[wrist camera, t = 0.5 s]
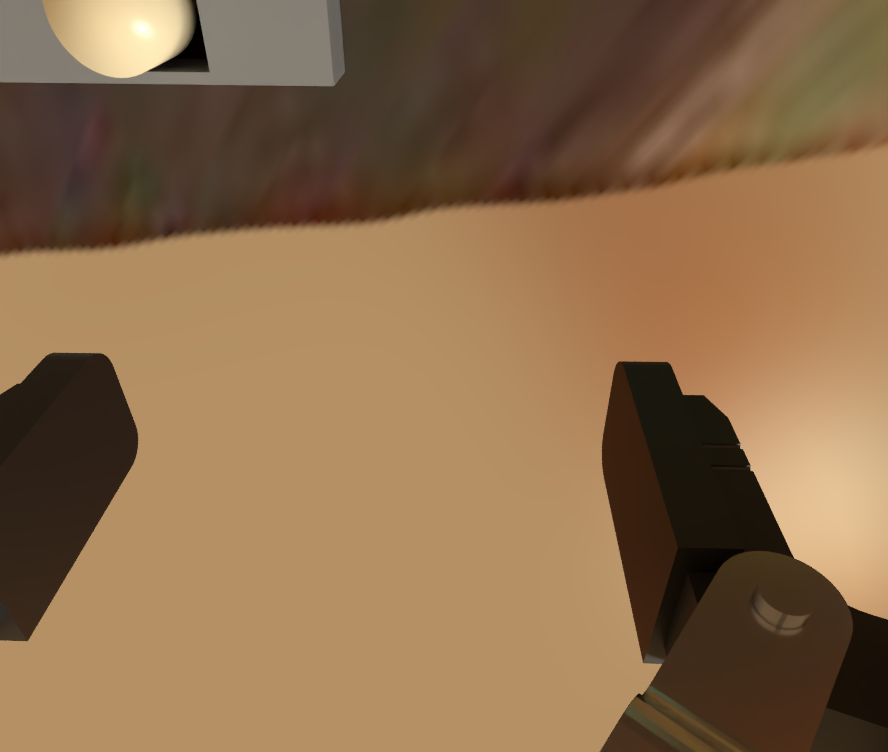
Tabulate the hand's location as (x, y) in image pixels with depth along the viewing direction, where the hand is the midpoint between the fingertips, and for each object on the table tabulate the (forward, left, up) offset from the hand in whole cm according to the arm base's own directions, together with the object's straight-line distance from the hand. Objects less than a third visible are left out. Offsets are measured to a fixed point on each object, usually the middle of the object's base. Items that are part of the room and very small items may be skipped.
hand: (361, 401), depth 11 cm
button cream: (-3, -12, -23) cm, 26 cm away
